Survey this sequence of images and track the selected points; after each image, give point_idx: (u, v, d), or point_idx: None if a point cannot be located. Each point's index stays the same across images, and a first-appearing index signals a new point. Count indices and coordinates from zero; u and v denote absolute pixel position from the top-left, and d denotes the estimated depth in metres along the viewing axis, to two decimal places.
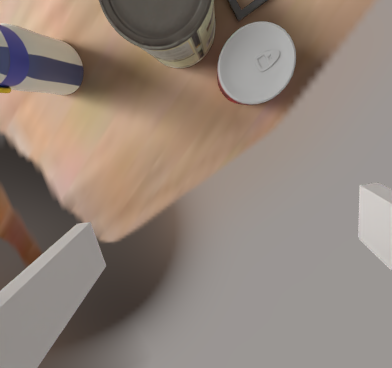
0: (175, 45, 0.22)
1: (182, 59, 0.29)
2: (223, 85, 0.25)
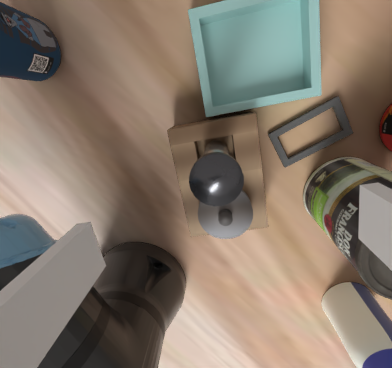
0: None
1: None
2: None
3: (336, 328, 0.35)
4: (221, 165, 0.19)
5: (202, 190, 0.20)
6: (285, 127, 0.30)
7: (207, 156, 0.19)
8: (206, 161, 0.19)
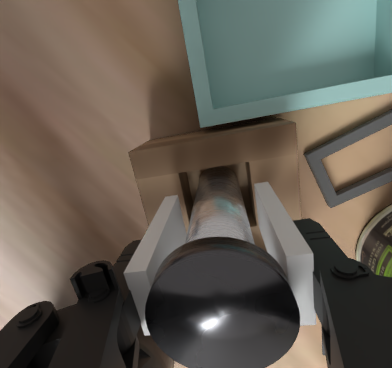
0: None
1: None
2: None
3: None
4: (236, 286, 0.06)
5: (182, 340, 0.07)
6: (335, 144, 0.18)
7: (195, 261, 0.06)
8: (192, 274, 0.06)
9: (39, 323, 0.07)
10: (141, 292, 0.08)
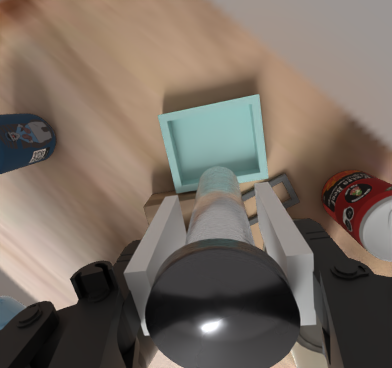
0: None
1: None
2: None
3: None
4: (236, 288, 0.06)
5: (182, 342, 0.07)
6: (244, 197, 0.36)
7: (195, 263, 0.06)
8: (192, 276, 0.06)
9: (39, 323, 0.07)
10: (141, 292, 0.08)
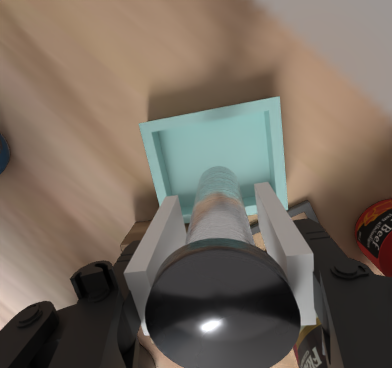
0: None
1: None
2: None
3: None
4: (236, 288, 0.06)
5: (182, 342, 0.07)
6: (253, 229, 0.28)
7: (195, 263, 0.06)
8: (192, 276, 0.06)
9: (39, 323, 0.07)
10: (141, 292, 0.08)
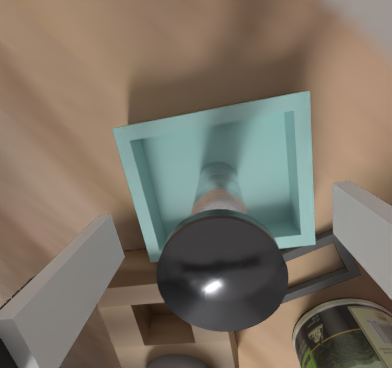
0: None
1: None
2: None
3: None
4: (234, 247, 0.08)
5: (188, 299, 0.08)
6: None
7: (199, 226, 0.07)
8: (197, 237, 0.08)
9: None
10: (13, 341, 0.07)
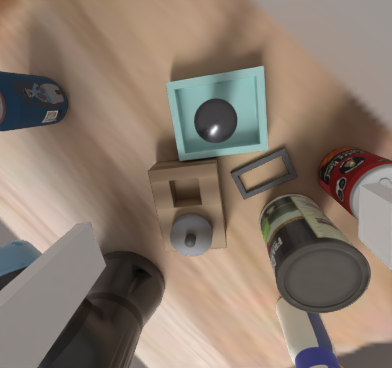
0: None
1: None
2: None
3: (282, 329, 0.43)
4: (220, 108, 0.24)
5: (204, 129, 0.25)
6: (244, 169, 0.38)
7: (209, 100, 0.24)
8: (208, 104, 0.24)
9: None
10: None
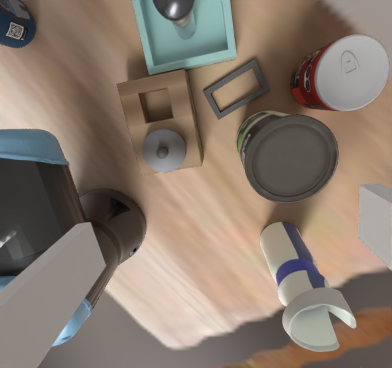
0: None
1: None
2: (363, 105, 0.27)
3: (265, 256, 0.42)
4: None
5: (162, 2, 0.24)
6: (215, 85, 0.37)
7: None
8: None
9: None
10: None
